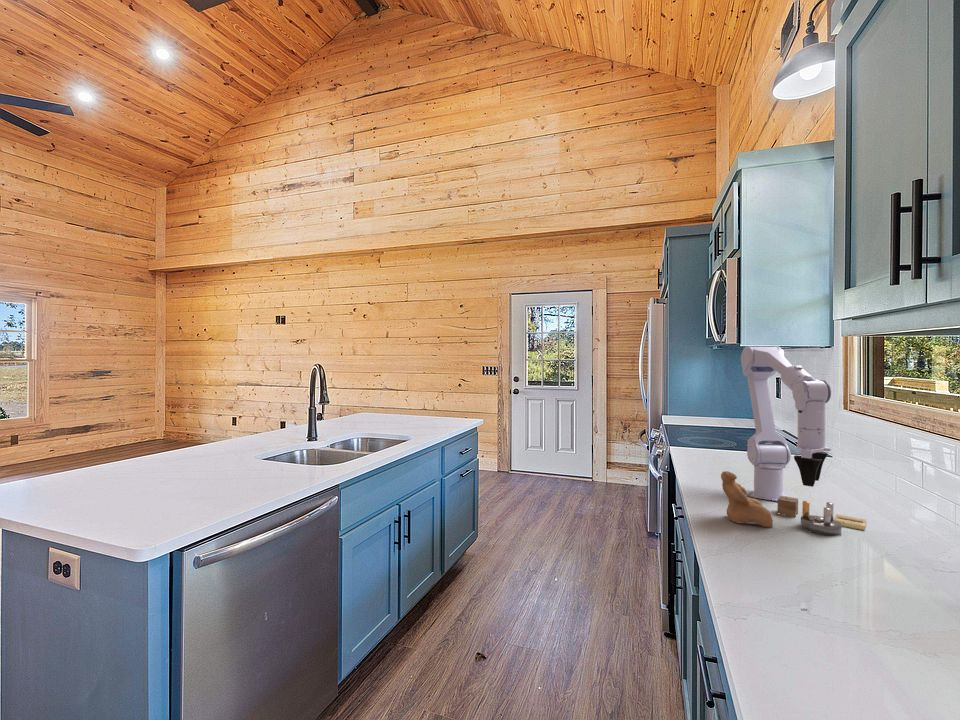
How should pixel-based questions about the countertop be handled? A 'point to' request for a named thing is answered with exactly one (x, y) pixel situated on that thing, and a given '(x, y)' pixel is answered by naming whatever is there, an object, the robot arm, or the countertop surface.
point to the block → (788, 506)
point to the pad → (851, 522)
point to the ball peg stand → (820, 521)
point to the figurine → (743, 503)
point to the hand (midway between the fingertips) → (811, 482)
